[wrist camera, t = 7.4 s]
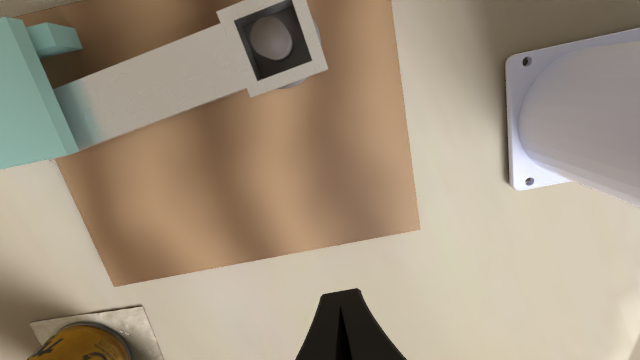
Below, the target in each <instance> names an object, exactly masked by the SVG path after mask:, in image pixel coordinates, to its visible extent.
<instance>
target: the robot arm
mask: <svg viewBox="0 0 640 360" xmlns="http://www.w3.org/2000/svg"><path fill="white" fill-rule="evenodd" d="M525 57H526V58H527V59H528V63H527V65H526V66H524V65H523V63H522V62H523V59H524V58H525ZM505 70H506V97H507V123H508V150H509V176H510V186H511V187H512V188H513V189H515V190H517V191H522V190H527V189H532V188H537V187H543V186H548V185H553V184H558V183H564V182H569V181H574V182H576V183H579V184H581V185H584V186H586V187H589V188H591V189H594V190H596V191H599V192H601V193H604V194H606V195H609V196H611V197H614V198H616V199H618V200H621V201H623V202H626V203H628V204H631V205H633V206H636V207H638V208H640V27H639V28H635V29H630V30H626V31H621V32H616V33H612V34H607V35H602V36H598V37H593V38H588V39H584V40H579V41H574V42H570V43H565V44H560V45H556V46H551V47H546V48H542V49H537V50H533V51H528V52H523V53H519V54H514V55H512V56H510V57H509V58H508V59H507V61H506V65H505ZM527 178H530V181H529V182H528V183H526V184H525V181H526V179H527ZM295 360H407V359H406V358H405V357H404V356H403V355H402V354H401V353H400V351H399V350H398V349H397V348H396V347H395V345H394V344H393V343H392V342H391V340H390V339H389V338H388V337H387V335H386V334H385V333H384V331H383V330H382V328H381V327H380V325H379V324H378V323H377V321H376V320H375V318H374V317H373V315H372V313H371V312H370V310H369V308H368V307H367V305H366V303H365V301H364V299H363V296H362V294H361V291H360V290H359V289H357V288H356V289H350V290H344V291H339V292H333V293H328V294H323V295H322V296H321V298H320V302H319V305H318V308H317V311H316V314H315V317H314V319H313V322H312V324H311V327H310V329H309V332H308V334H307V336H306V339H305V341H304V343H303V345H302V347H301V349H300V351H299V353H298V355H297V357H296V359H295Z"/></svg>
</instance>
